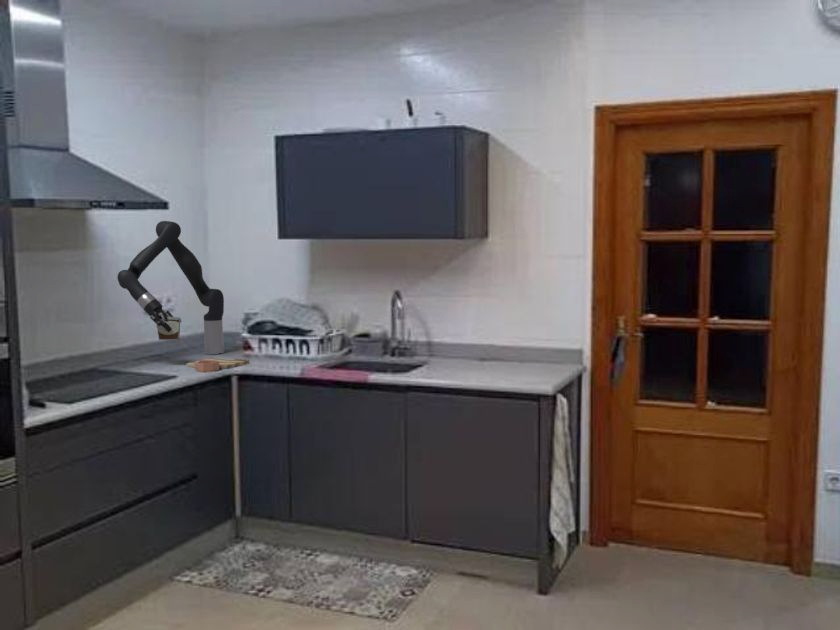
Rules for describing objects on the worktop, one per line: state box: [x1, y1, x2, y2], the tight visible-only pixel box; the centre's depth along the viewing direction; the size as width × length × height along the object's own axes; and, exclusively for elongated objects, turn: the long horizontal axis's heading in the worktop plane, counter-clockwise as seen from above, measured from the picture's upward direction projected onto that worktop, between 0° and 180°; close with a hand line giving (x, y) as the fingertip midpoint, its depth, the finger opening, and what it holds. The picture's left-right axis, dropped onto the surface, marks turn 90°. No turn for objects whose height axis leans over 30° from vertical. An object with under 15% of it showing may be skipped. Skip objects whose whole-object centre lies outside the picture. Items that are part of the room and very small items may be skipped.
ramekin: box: [194, 360, 219, 373], centre depth 366 cm, size 10×10×4 cm
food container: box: [156, 316, 182, 341], centre depth 380 cm, size 12×6×10 cm, turn 84°
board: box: [186, 357, 250, 370], centre depth 381 cm, size 18×22×2 cm
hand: (173, 329), depth 380 cm, fingers closed on food container, 6 cm apart
